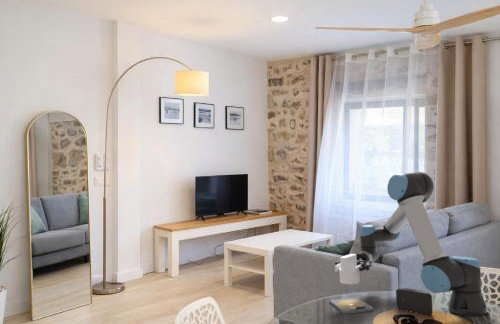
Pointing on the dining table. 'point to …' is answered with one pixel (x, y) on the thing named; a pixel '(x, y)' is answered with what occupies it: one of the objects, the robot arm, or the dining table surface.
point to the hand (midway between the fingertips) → (345, 269)
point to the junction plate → (351, 305)
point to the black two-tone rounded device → (414, 300)
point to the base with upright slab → (349, 270)
